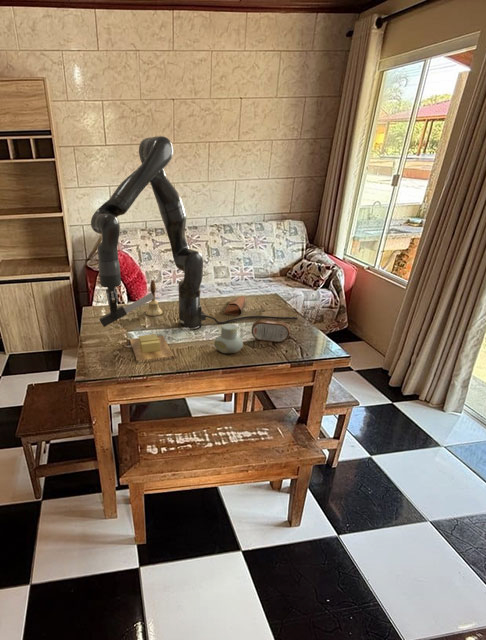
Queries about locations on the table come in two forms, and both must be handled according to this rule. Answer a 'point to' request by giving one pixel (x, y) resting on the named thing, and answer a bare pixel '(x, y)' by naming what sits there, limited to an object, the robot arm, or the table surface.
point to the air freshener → (228, 339)
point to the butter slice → (150, 346)
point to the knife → (125, 310)
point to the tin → (270, 330)
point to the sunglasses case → (235, 306)
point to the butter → (147, 338)
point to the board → (163, 352)
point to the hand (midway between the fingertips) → (114, 317)
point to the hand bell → (153, 303)
